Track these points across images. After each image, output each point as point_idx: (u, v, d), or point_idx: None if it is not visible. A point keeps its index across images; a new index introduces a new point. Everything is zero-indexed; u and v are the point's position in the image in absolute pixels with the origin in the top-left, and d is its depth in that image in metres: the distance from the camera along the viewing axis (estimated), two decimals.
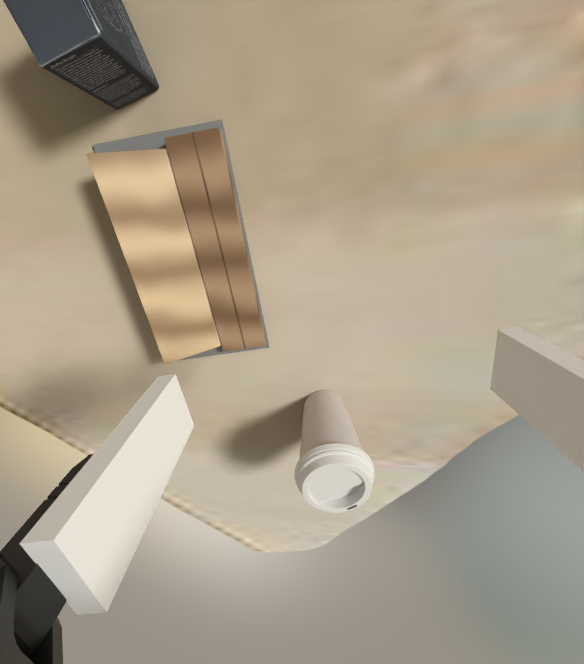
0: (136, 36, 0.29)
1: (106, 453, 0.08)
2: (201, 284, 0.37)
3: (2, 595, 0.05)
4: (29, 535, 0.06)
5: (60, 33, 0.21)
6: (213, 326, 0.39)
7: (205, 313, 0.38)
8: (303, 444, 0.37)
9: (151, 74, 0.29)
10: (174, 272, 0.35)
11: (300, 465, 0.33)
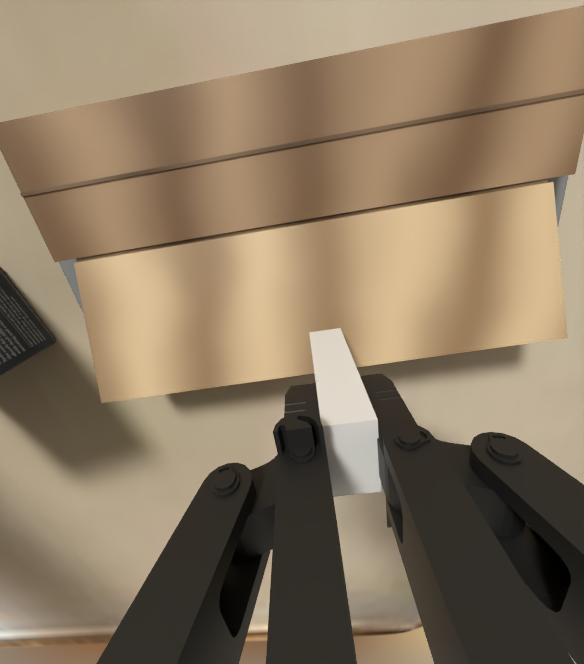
0: None
1: (327, 378, 0.10)
2: (365, 217, 0.14)
3: (329, 473, 0.06)
4: (324, 421, 0.08)
5: None
6: (488, 196, 0.14)
7: (445, 215, 0.14)
8: None
9: None
10: (329, 279, 0.14)
11: None
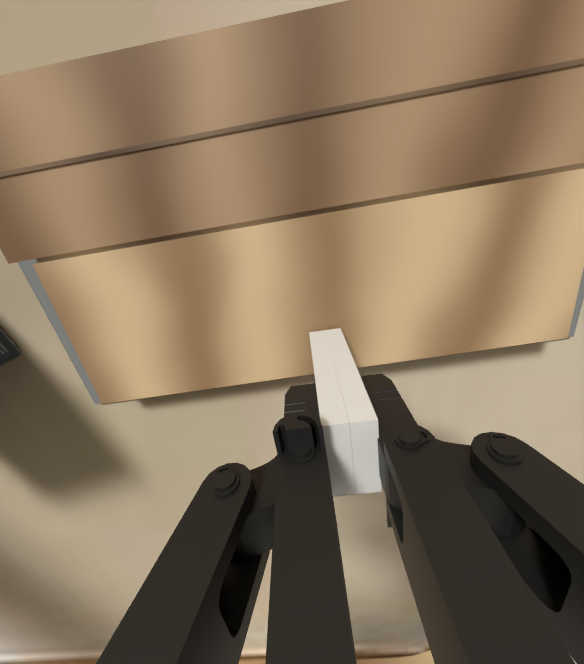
0: None
1: (326, 378, 0.10)
2: (377, 209, 0.12)
3: (328, 473, 0.06)
4: (324, 421, 0.08)
5: None
6: (525, 183, 0.11)
7: (470, 207, 0.12)
8: None
9: None
10: (332, 282, 0.13)
11: None
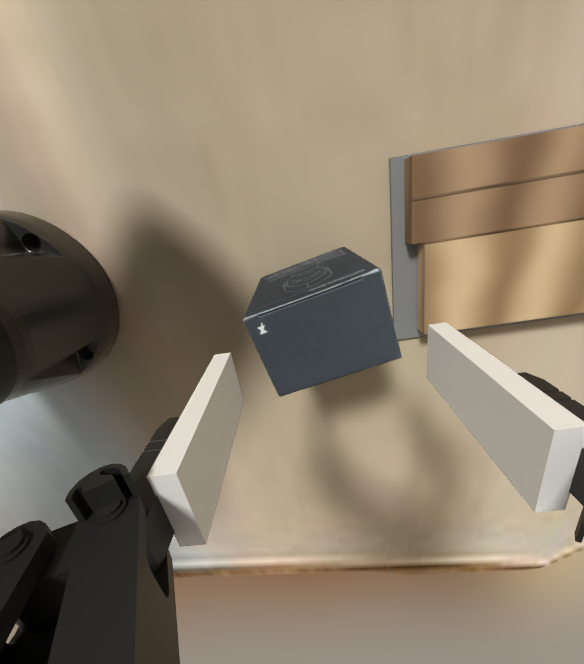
0: (297, 264, 0.24)
1: (193, 413, 0.09)
2: None
3: (139, 522, 0.06)
4: (152, 471, 0.07)
5: (374, 322, 0.16)
6: None
7: None
8: None
9: (338, 250, 0.23)
10: None
11: None
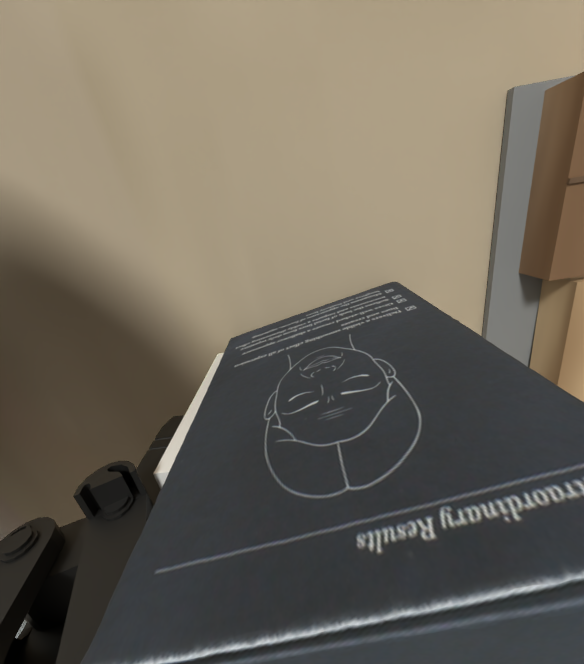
0: (302, 316, 0.12)
1: None
2: None
3: (146, 519, 0.06)
4: (159, 468, 0.07)
5: None
6: None
7: None
8: None
9: (387, 292, 0.11)
10: None
11: None
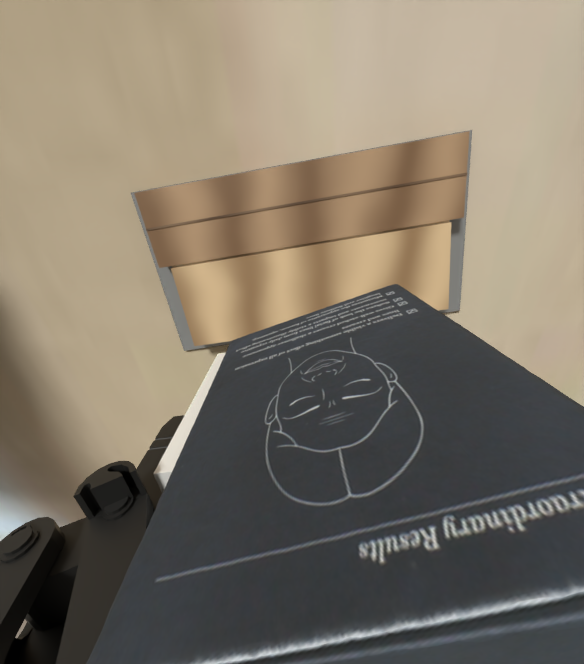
0: (302, 318, 0.12)
1: (198, 411, 0.09)
2: (343, 242, 0.24)
3: (146, 518, 0.06)
4: (159, 468, 0.07)
5: None
6: (413, 230, 0.24)
7: (388, 241, 0.24)
8: None
9: (388, 295, 0.11)
10: (322, 278, 0.25)
11: None
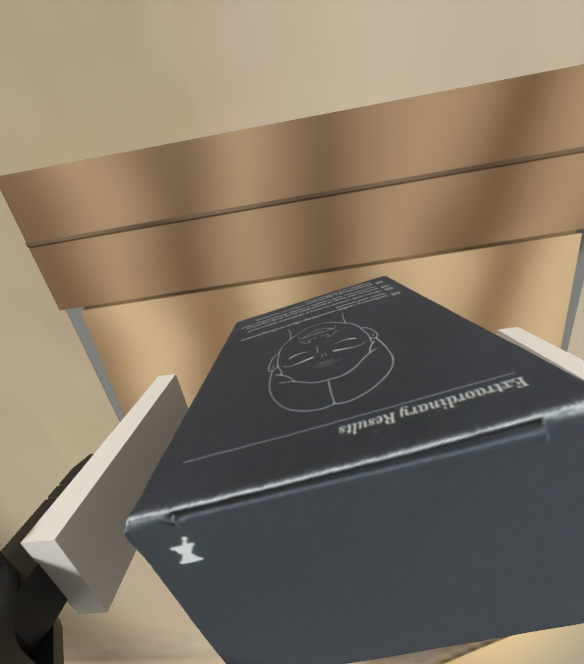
0: (301, 303, 0.13)
1: (107, 453, 0.08)
2: (382, 268, 0.14)
3: (3, 594, 0.05)
4: (30, 534, 0.06)
5: (548, 548, 0.05)
6: (511, 248, 0.13)
7: (464, 267, 0.13)
8: None
9: (377, 283, 0.12)
10: None
11: None
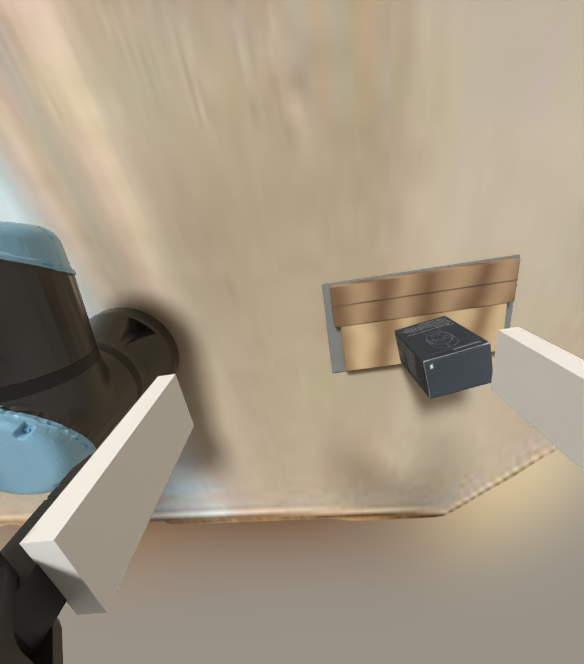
0: (418, 324, 0.42)
1: (106, 453, 0.08)
2: (444, 313, 0.42)
3: (2, 595, 0.05)
4: (29, 535, 0.06)
5: (483, 365, 0.34)
6: (485, 308, 0.42)
7: (470, 313, 0.42)
8: None
9: (444, 319, 0.41)
10: None
11: None
